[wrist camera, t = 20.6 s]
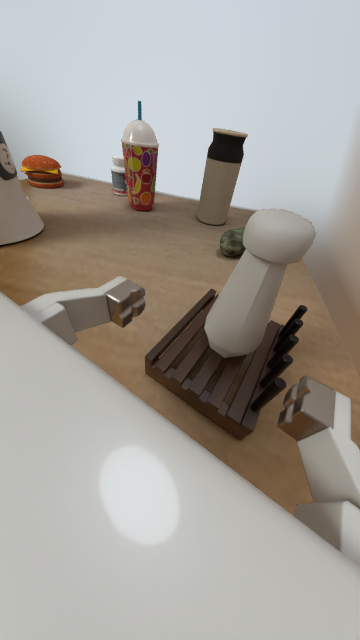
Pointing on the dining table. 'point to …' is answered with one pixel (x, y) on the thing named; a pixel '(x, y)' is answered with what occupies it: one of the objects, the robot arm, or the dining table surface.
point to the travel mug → (220, 175)
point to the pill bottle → (119, 176)
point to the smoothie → (140, 163)
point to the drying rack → (213, 402)
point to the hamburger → (42, 171)
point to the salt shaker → (256, 280)
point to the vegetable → (232, 242)
